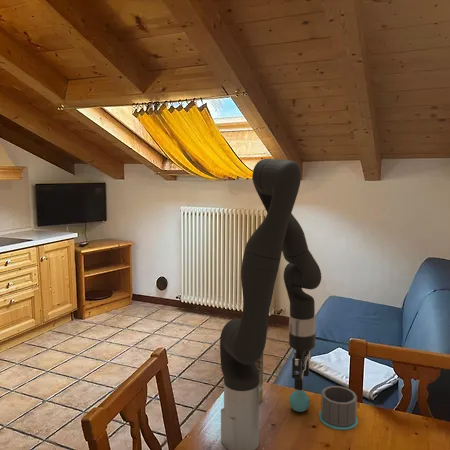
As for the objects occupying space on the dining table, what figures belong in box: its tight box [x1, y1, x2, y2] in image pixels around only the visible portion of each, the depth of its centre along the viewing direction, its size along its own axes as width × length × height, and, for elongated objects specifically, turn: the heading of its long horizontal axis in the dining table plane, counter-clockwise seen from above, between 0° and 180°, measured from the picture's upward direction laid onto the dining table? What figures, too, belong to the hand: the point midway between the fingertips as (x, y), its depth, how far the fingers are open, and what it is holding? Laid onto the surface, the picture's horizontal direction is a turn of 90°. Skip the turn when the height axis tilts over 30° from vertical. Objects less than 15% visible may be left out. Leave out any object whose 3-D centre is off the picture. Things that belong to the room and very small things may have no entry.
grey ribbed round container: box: [318, 385, 359, 431], centre depth 124 cm, size 11×11×7 cm
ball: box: [288, 389, 311, 413], centre depth 128 cm, size 6×6×6 cm
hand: (302, 382), depth 127 cm, fingers open, 8 cm apart
